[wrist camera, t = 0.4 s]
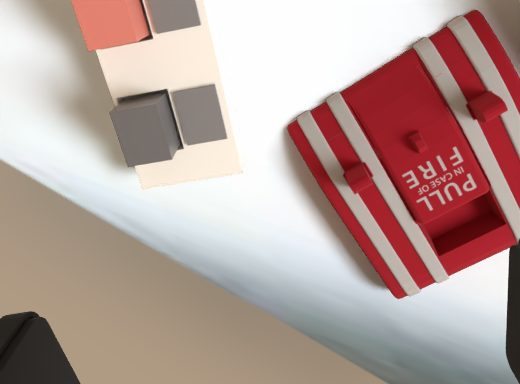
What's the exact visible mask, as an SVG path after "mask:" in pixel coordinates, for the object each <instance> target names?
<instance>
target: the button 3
mask: <svg viewBox="0 0 520 384" xmlns="http://www.w3.org/2000/svg"><path fill="white" fill-rule="evenodd" d="M109 113H110V116H111V118H112V121H113V124H114V127H115V130H116V133H117V136H118V139H119V142H120V145H121V148H122V151H123V154H124V156H125V159H126V162H127V165H128V167H132V166H138V165H144V164H149V163H155V162H161V161H167V160H172V159H173V157H174V155H175V153H176V151H177V149H178V147H179V145H180V140H179V137H178V133H177V130H176V126H175V123H174V119H173V116H172V112H171V108H170V105H169V101H168V98H167V94H166V92H162V93H157V94H151V95H146V96H140V97H135V98H130V99H124V100H123V101H121V102H120V103H119V104H118V105H117V106H116V107H115V108H114V109H113V110H112V111H111V112H109Z"/></svg>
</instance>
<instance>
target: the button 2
mask: <svg viewBox="0 0 520 384" xmlns="http://www.w3.org/2000/svg"><path fill="white" fill-rule="evenodd" d="M71 1H72V4H73V7H74V10H75V13H76V16H77V19H78V22H79V25H80V28H81V31H82V34H83V37H84V39H85V42H86V45H87V48H88V51H93V50H98V49H103V48H108V47H113V46H118V45H123V44H128V43H133V42H138V41H139V40H141V39H143V38H144V37H146V36H148V35H150V34H149V30H148V27H147V23H146V20H145V16H144V13H143V9H142V5H141V2H140V0H71Z"/></svg>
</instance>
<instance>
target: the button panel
mask: <svg viewBox="0 0 520 384" xmlns="http://www.w3.org/2000/svg"><path fill="white" fill-rule="evenodd" d="M140 2H141V5H142V9H143V13H144V16H145V20H146V23H147V27H148V30H149V34H150V35H148V36H146V37H144V38H143V39H141V40H139V41H138V42H133V43H128V44H123V45H118V46H113V47H108V48H103V49H98V50H96V53H97V56H98V59H99V62H100V64H101V67H102V70H103V73H104V76H105V79H106V82H107V85H108V88H109V91H110V94H111V97H112V100H113V103H114V106H115V107H116V106H117V105H118V104H119V103H120V102H121V101H123V100H124V99H130V98H135V97H140V96H146V95H151V94H157V93H162V92H166V94H167V98H168V101H169V105H170V108H171V112H172V116H173V119H174V123H175V126H176V130H177V133H178V137H179V140H180V145H179V147H178V149H177V151H176V153H175V155H174V157H173V159H172V160H167V161H161V162H155V163H149V164H144V165H138V166H135V169H136V172H137V175H138V178H139V181H140V184H141V187H142V189H148V188H154V187H160V186H166V185H173V184H179V183H185V182H191V181H197V180H203V179H209V178H215V177H221V176H227V175H233V174H239V173H243V166H244V159H245V154H244V149H243V145H242V140H241V136H240V131H239V127H238V122H237V117H236V113H235V108H234V104H233V99H232V95H231V90H230V85H229V81H228V76H227V72H226V67H225V63H224V58H223V54H222V49H221V44H220V40H219V35H218V31H217V26H216V22H215V17H214V13H213V8H212V3H211V0H140Z"/></svg>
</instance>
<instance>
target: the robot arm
mask: <svg viewBox="0 0 520 384" xmlns="http://www.w3.org/2000/svg"><path fill="white" fill-rule="evenodd" d="M506 355H507V359H508V363H509V365H510V368H511V370H512V372H513V373H514V375H515V377H516V378H517V380H518V382H519V384H520V239H519V241H518V244H516V245H512V246H511V247H510V251H509V276H508V303H507V330H506ZM0 384H80V382H79V380H78V378H77V376H76V374H75V372H74V371H73V369H72V367H71V365H70V363H69V361H68V360H67V357H66V356H65V354H64V352H63V350H62V348H61V346H60V344H59V342H58V341H57V339H56V337H55V335H54V333H53V331H52V329H51V327H50V326H49V324H48V322H47V321H46V319H45V318H43V317H39V315H38V314H37V313H35V312H24V313H17V314H10V315H6V316H3V317H2V318H1V319H0Z"/></svg>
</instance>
